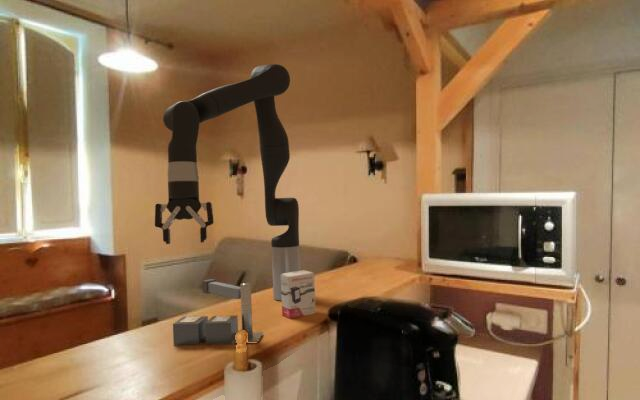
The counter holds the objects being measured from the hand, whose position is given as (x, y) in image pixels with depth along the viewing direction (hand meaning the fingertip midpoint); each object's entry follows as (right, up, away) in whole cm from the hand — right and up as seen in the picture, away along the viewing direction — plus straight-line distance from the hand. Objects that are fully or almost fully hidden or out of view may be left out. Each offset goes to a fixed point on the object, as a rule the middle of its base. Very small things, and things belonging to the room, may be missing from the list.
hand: (185, 243), depth 105 cm
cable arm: (+10, -13, -3) cm, 17 cm away
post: (+18, -22, -9) cm, 30 cm away
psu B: (+4, -22, -9) cm, 24 cm away
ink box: (+29, -22, +10) cm, 37 cm away
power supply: (+12, -22, -9) cm, 27 cm away
